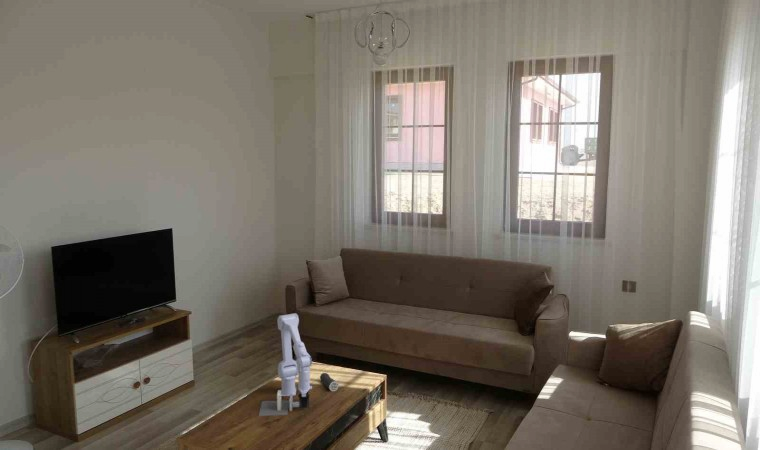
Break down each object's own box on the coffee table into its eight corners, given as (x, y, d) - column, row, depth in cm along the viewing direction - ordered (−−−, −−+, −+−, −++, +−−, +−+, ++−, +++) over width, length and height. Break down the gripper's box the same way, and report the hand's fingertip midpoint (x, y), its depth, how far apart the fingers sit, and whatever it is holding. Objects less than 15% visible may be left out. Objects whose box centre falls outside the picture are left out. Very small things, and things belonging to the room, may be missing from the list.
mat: (262, 402, 293) (262, 401, 293) (289, 401, 295) (289, 400, 294) (258, 416, 277) (258, 415, 277) (287, 415, 279) (287, 414, 279)
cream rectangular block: (277, 405, 289) (277, 390, 288) (281, 404, 289) (281, 390, 288) (277, 410, 283) (276, 395, 282) (280, 410, 283) (280, 395, 282)
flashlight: (319, 381, 320) (319, 372, 319) (327, 380, 323) (327, 371, 322) (329, 392, 307) (329, 382, 306) (338, 390, 309) (338, 380, 308)
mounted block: (290, 404, 291) (290, 393, 290) (309, 404, 292) (309, 393, 291) (289, 412, 283) (289, 400, 282) (309, 411, 284) (309, 399, 283)
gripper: (311, 384, 279) (312, 410, 281) (312, 372, 293) (312, 397, 295) (297, 384, 278) (297, 411, 280) (298, 373, 292) (298, 398, 294)
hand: (304, 404), depth 287 cm, fingers open, 6 cm apart
